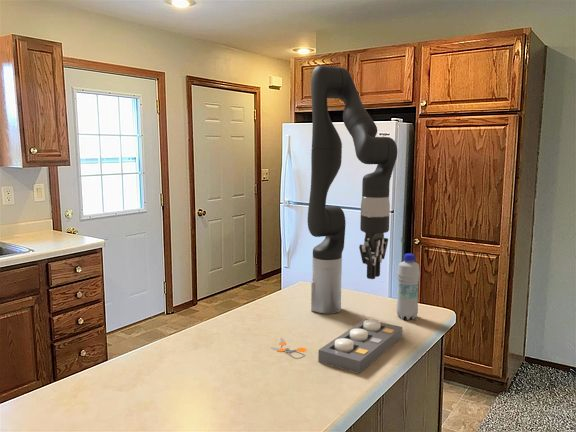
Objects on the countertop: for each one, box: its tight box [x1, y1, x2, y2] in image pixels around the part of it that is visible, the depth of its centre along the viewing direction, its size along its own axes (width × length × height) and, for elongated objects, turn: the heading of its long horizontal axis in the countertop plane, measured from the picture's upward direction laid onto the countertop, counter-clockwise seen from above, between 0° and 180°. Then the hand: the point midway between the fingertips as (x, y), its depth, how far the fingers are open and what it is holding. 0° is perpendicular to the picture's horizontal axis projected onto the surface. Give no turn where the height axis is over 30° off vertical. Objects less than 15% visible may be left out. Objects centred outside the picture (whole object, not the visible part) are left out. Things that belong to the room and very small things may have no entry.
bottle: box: [396, 252, 421, 321], centre depth 146 cm, size 7×7×20 cm
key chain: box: [270, 337, 308, 360], centre depth 124 cm, size 13×7×1 cm, turn 41°
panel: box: [317, 318, 403, 374], centre depth 124 cm, size 26×11×3 cm, turn 145°
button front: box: [335, 338, 354, 354], centre depth 118 cm, size 5×5×2 cm
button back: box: [363, 319, 381, 333], centre depth 131 cm, size 5×5×2 cm
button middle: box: [350, 329, 368, 343], centre depth 124 cm, size 5×5×2 cm
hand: (373, 277), depth 129 cm, fingers open, 2 cm apart
